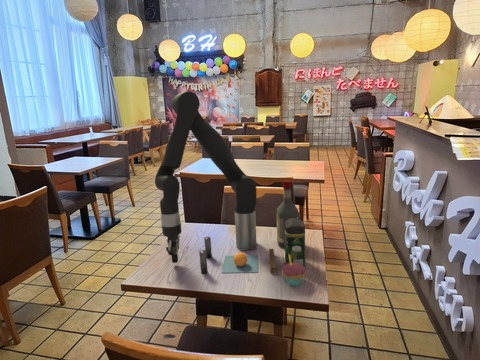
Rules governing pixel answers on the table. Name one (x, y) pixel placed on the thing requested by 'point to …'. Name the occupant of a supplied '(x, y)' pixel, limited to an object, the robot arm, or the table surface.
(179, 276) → the table surface
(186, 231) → the table surface
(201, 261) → the post
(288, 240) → the coffee jar
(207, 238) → the post
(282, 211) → the liquor
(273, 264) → the stopper wall
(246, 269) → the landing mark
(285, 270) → the cupcake
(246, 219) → the robot arm
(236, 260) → the ball
